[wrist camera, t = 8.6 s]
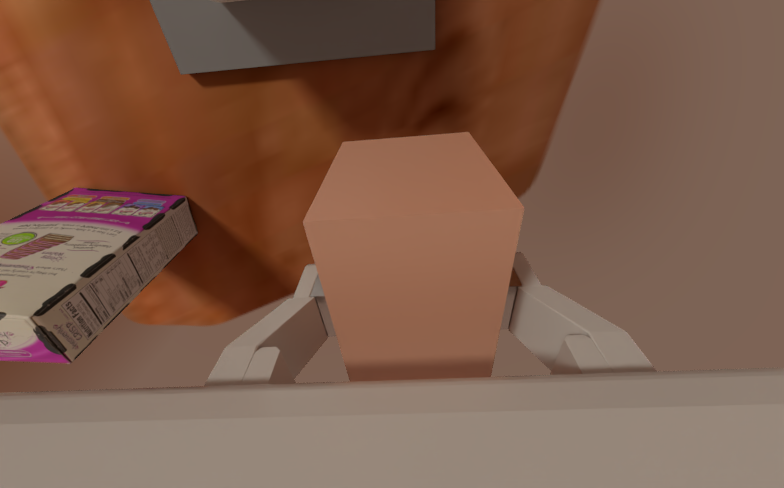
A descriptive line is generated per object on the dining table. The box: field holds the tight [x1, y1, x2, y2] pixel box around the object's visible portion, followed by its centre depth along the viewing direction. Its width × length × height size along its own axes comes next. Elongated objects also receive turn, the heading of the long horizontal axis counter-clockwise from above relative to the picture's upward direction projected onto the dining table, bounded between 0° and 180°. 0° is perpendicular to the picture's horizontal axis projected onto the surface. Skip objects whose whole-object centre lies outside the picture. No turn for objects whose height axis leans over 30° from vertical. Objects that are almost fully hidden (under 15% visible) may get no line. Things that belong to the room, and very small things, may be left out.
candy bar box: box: [0, 188, 198, 364], centre depth 25 cm, size 11×5×16 cm, turn 85°
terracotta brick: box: [303, 132, 524, 381], centre depth 10 cm, size 4×8×5 cm, turn 5°
